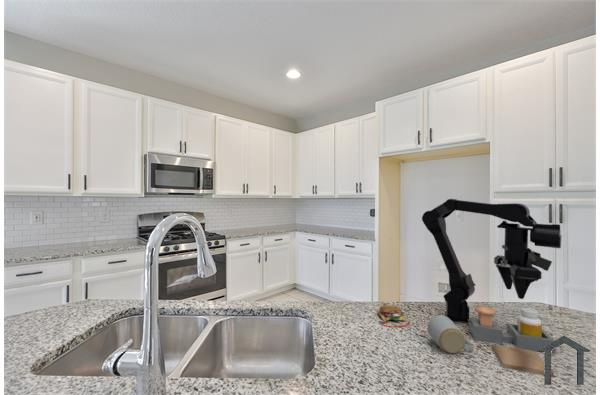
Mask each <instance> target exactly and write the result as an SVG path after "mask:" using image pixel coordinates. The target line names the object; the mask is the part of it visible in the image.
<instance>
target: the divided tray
mask: <svg viewBox="0 0 600 395" xmlns="http://www.w3.org/2000/svg"><path fill="white" fill-rule="evenodd" d="M469 331H470V333H471V336H472V338H473V339H474V340H475V341H479V342H480V341H481V342H485V343H486V342H487V343H492V344H498V345H503V344H504V343H510V344H514V346H515V348H518V349H524V350H530V351H533V350H534V351H536V352H539V350H540V349H542V348H544V347H545V346H547V345H549V344H551V343H553V342H555V341H556V340H555V339H554V338H553V337H552V336H551V335H550V334H549V333H548V332H547V331H545V330H544V329H543V328H542V338H540V337H534V336H527V335H520V334H519V333H518V323H510V322H507V323H506V332H504V330H503V329H502V328H501V326H500V325H499V324H498V322H497V320H493V319H492V327H491V326H484V325H480V324H479V323H478V317H470V316H469ZM552 354H553V355H556V348H555V349H553V350H552Z"/></svg>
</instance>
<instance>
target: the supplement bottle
mask: <svg viewBox="0 0 600 395" xmlns="http://www.w3.org/2000/svg"><path fill="white" fill-rule="evenodd" d="M517 325H518V333H519V334H520V335H527V336H534V337H540V338H542V329H543V327H542V321H541V319H540V318H539V311H538V310H536V309H533V308H528V307H521V308H520V314H519V315H518V317H517Z"/></svg>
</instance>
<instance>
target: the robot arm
mask: <svg viewBox="0 0 600 395" xmlns="http://www.w3.org/2000/svg"><path fill="white" fill-rule="evenodd" d="M455 211H460V212H467V213H474V214H481V215H489V216H493V217H496V218H499V219H502V222H501V223H500V224H498V225H497V226H496V228H498V229H504V243H503V244H501V245H502V246H501V248H502V249H503V250H504V252H503V254H504V255H496V256H495V257H494V258H493V264H494V265H495V267H496V268H497V271H498V272H499V275H500V277H501V279H502V281H503V283H504V286H505V288H506V289H507V290H512V286H513V287H514V289H515V293H516V295H517V297H518V299H520V300H523V299H525V296H526V294H527V291H528V289H529V287H530V285H531V284H532V283H533V282H537V281H539V280H542V271H540V269H542V270H544V271H546V272H548V271H549V269H550V267H551V265H552V263H553V261H552V260H549V259H547V258H544V257H542V256H541V253H540V252H537V251H534V250H532V249H531V248H528V246H529V245H528V244H529V242H528V241H530V243H532V244H533V243H534V246H535V247H544V248H553V249H554V248H555V249H561V248H562V236H563V235H561V234H562V233H561V224H557V223H553V224H549V223H548V224H545V223H537V222H536V220H535V219H534V218H533V217H532V216H531V215H530V213H531V211H530V209H529V208H528V206H526V205H525V204H524V203H518V202H517V203H514V202H513V203H486V202H479V201H469V200H459V199H457V198H449V199H447V200H446V201H445V202H443V203H441V204H439V205H437V206H435V207H434V208H433V209H432V210H427V211H425V212H424V213H423V214H422V216H421V220H422V222H423V224H424V226H425V227H426V229H427V231H429V232H430V233H431V235H432V236H433V238H434V240H435V243H436V245H437V248H438V251H439V253H440V255H441V258H442V261H443V262H444V263H443V264H444V266H445V268H446V270H447V273H448V284H449V289H450V290H449V291H448V292H447V293H445V294H443V299H444V301H445V306H446V307H445V312H444V313H445V316H446V317H448V318H449V319H450V320H451V321H452V322H459V323H460V322H461V323H467V324H468V323H469V324H470V306H469V305H468V299H469V298H470V297H471V296H473V294H474V293H475V290H476V288H475V286H476V284H475V282H474V280H473V278H472V274H471V273H469V274H466V273H465V271H463V269H462V266H461V264H460V261H459V259H458V257H457V255H456V252H455V249H454V248H453V245H452V243H451V240H450V239H449V236H448V233H447V223H446V218H447V217H449V216H451V214H452V213H454V212H455ZM510 222H513V223H510ZM521 225H522V226H524V227H522V226H521ZM539 268H540V269H539Z"/></svg>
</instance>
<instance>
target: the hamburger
mask: <svg viewBox="0 0 600 395" xmlns="http://www.w3.org/2000/svg"><path fill="white" fill-rule="evenodd" d="M377 311H378V312H377V314H378V315H379V316H380V317H381V319H382V320H383V321H379V320H378V322H379V325H380V326H384V327H386V328H398V329H399V328H404V327H405V328H406V327H408V326H409V325H411V321H408V322H407V323H406V324H403V325H402V324H401V325H395V326H394V325H386V324H389V322H388V321H389V320H390V321H404V322H405V321H406V318H405V317H406V316H405V312H404V311H403V310H402V309H401V308H400V307H398V306H396V305H390V304H383V305H380V307H379V308H378V309H377Z"/></svg>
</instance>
